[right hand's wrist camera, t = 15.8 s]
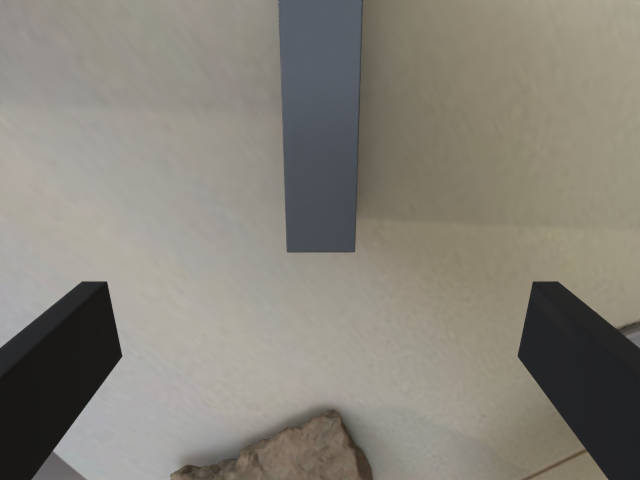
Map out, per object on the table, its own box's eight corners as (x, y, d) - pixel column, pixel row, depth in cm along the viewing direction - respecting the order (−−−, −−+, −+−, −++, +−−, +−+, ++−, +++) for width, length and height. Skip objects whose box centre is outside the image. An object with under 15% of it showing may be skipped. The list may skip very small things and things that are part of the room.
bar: (347, 216, 38) (355, 252, 29) (293, 217, 38) (286, 252, 29) (354, -89, 29) (367, -156, 21) (286, -89, 29) (273, -156, 21)
